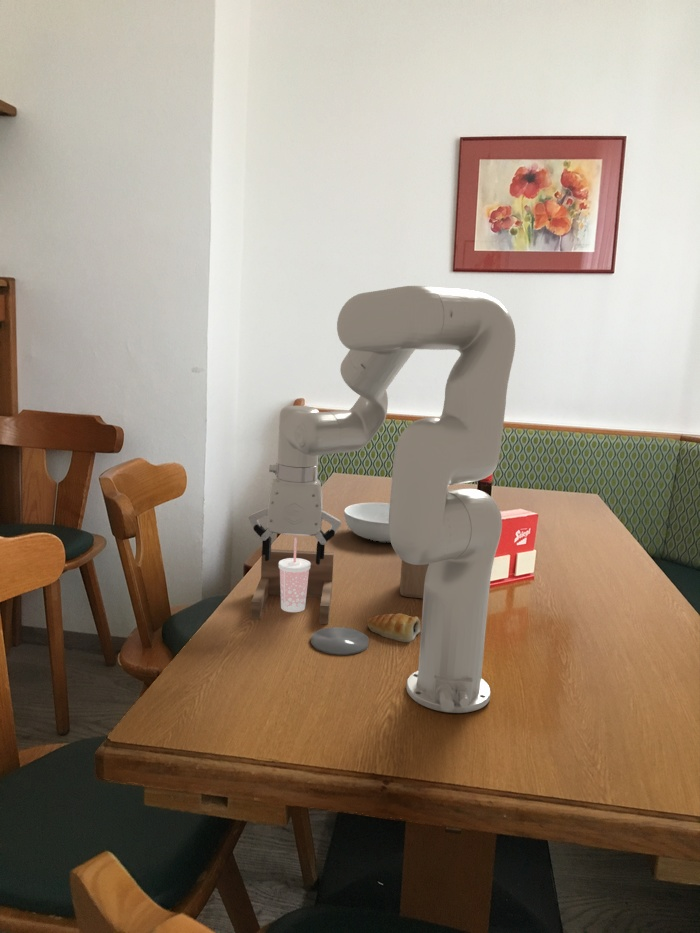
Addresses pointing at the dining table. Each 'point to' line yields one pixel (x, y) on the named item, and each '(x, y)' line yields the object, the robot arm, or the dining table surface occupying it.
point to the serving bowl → (369, 520)
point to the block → (412, 579)
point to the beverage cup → (293, 582)
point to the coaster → (339, 641)
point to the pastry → (395, 626)
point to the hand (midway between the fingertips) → (292, 560)
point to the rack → (316, 585)
